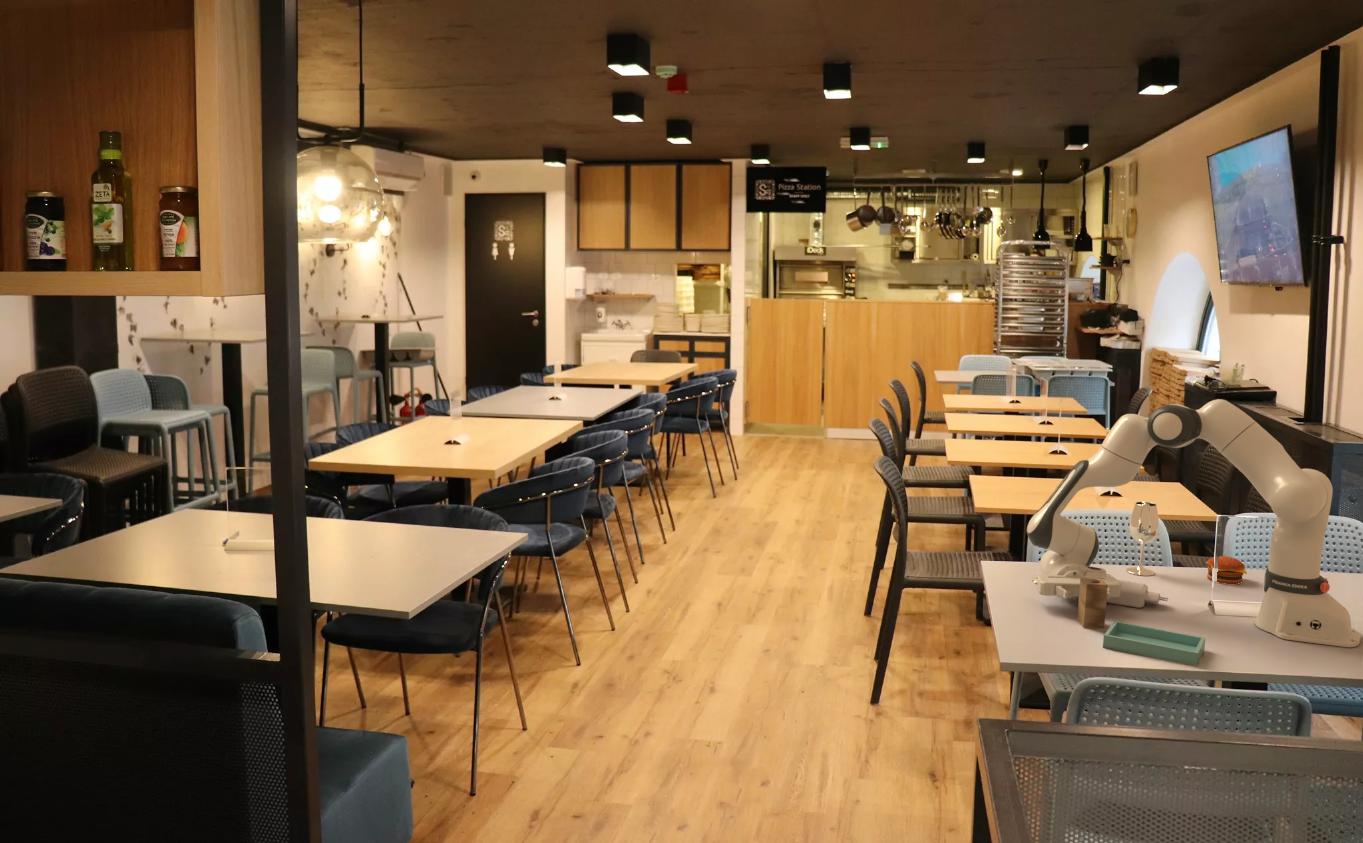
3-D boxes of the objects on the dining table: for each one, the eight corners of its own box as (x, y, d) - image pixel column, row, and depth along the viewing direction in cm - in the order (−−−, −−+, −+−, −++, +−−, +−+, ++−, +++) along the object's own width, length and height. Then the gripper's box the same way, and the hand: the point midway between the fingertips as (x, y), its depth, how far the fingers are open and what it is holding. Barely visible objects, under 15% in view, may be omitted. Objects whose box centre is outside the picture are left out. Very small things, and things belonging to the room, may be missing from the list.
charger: (1164, 613, 284) (1102, 603, 291) (1168, 603, 292) (1108, 594, 299) (1166, 595, 284) (1104, 586, 291) (1170, 586, 292) (1109, 577, 299)
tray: (1204, 650, 259) (1205, 637, 258) (1196, 666, 249) (1197, 653, 248) (1113, 632, 269) (1114, 620, 269) (1102, 647, 259) (1103, 635, 259)
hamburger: (1237, 576, 318) (1239, 554, 317) (1246, 586, 308) (1249, 563, 307) (1201, 574, 319) (1204, 551, 318) (1210, 584, 310) (1212, 560, 309)
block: (1097, 621, 277) (1101, 578, 275) (1104, 628, 272) (1107, 584, 270) (1077, 620, 277) (1080, 577, 276) (1083, 627, 272) (1086, 583, 271)
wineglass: (1119, 569, 322) (1125, 502, 319) (1139, 567, 325) (1145, 499, 322) (1140, 577, 315) (1146, 508, 312) (1161, 574, 318) (1167, 505, 315)
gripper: (1030, 566, 291) (1045, 582, 278) (1110, 568, 290) (1129, 585, 277) (1029, 590, 292) (1044, 607, 279) (1108, 592, 292) (1127, 609, 278)
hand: (1087, 596), depth 278 cm, fingers open, 8 cm apart
